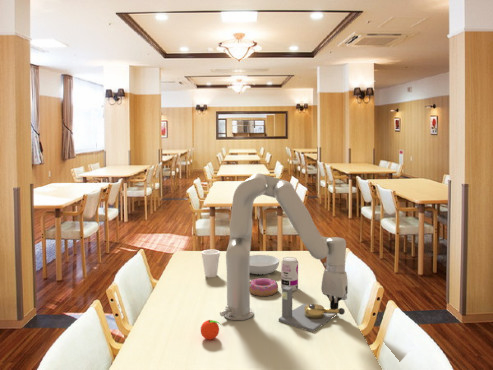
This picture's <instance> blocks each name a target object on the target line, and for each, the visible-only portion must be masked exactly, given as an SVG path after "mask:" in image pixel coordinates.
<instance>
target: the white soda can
mask: <svg viewBox="0 0 493 370" xmlns="http://www.w3.org/2000/svg"><path fill="white" fill-rule="evenodd" d="M280 263H281V265H280V267H281V269H280V271H281V272H280V274H281V275H280V279H281V280H280V282H281V283H280V286H281V289H282V288H284V287H286V286H288V287H291V288H292V292H295V291H297V290H298V288H299V261H298V259H297V257H293V256H286V257H283V258H282V259H281V262H280Z"/></svg>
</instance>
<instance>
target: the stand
mask: <svg viewBox="0 0 493 370" xmlns="http://www.w3.org/2000/svg"><path fill="white" fill-rule="evenodd" d="M306 305H308V304H307V303H303V304H301V305H300V306H298V307H296V308H294V309H293V291H292V288H291V287H288V286H286V287H284V288H281V309H282V310H281V316H280V317H278V322H280V323H282V322H283V324H285V325H286V324H287V325H289V326H293V327H295V326H296V328H298V327H299V328H298V329H301V328H303V329H302V330H304V329H306V331H308V330H309V331H308V332H311V331H314V330H315V331H317V330H318V329H319V327H320V326H321V325H323V324H324V323H326V322H327V321H328V320H330V319H331V318H332V317H334V316H335V315H337V316H338V313H324V317H322V318H319V319H312V318H308V317H306V316H305V315H304V311H305V306H306ZM334 318H335V317H334ZM331 320H332V319H331ZM331 320H330V321H331ZM328 322H329V321H328ZM328 322H327V323H328ZM327 323H326V324H327ZM324 325H325V324H324ZM324 325H323V326H324ZM321 327H322V326H321ZM321 327H320V328H321ZM317 328H318V329H317ZM316 329H317V330H316ZM315 331H314V332H315Z"/></svg>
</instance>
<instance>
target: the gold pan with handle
mask: <svg viewBox="0 0 493 370" xmlns="http://www.w3.org/2000/svg"><path fill="white" fill-rule="evenodd" d="M324 313H337V314H339V315H344V314H345V313H346V312H345V309H344V308H343V307H340V308H338V309H331V308H326V307H324V306H323V305H321V304H316V303H309V304H308V305H306V306H305V311H304V315H305V316H306V317H308V318H312V319H319V318H322V317H324Z"/></svg>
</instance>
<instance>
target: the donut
mask: <svg viewBox="0 0 493 370" xmlns="http://www.w3.org/2000/svg"><path fill="white" fill-rule="evenodd" d="M278 284H279V283H277V281H276V280H274V279H272V278H267V277H266V278H264V277H263V278H261V277H259V278H253V279H252V280H250V294H252V295H254V296H258V297H270V296H273V295H275V294H277V292H278V290H279V285H278Z"/></svg>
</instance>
